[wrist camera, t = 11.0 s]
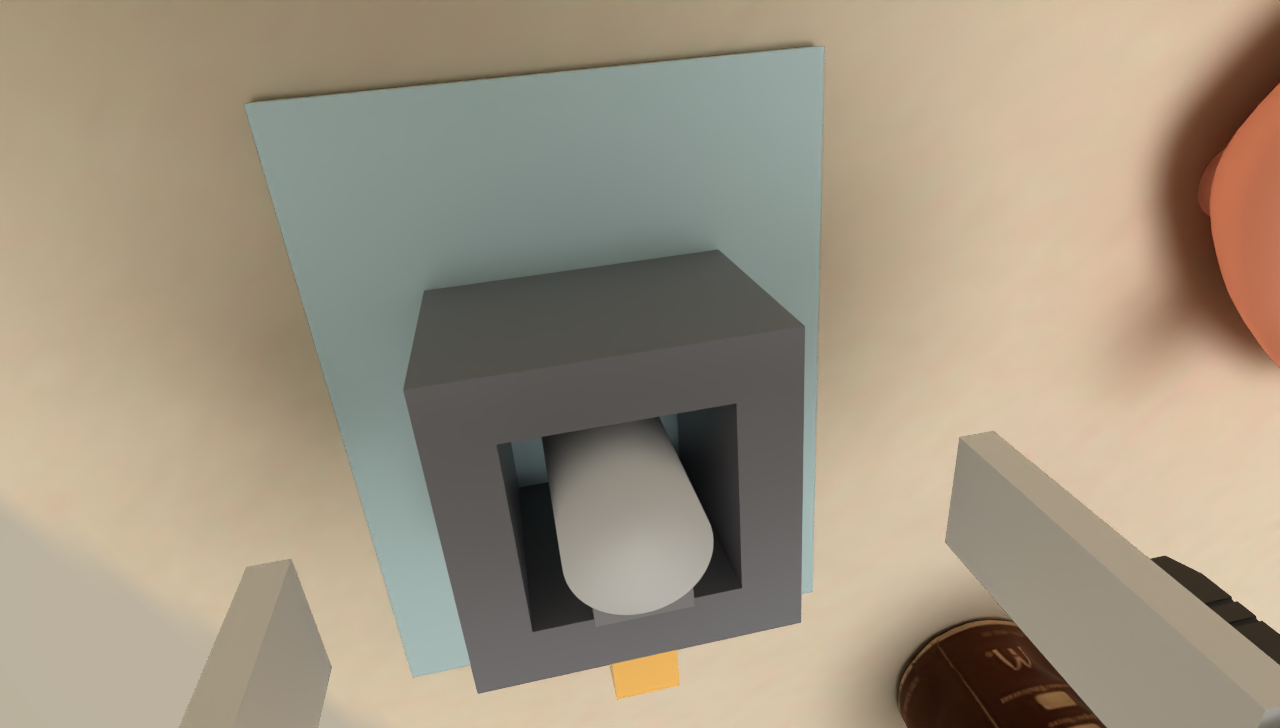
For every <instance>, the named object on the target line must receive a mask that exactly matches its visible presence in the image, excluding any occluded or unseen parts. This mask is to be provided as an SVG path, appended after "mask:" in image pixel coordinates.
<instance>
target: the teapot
mask: <svg viewBox="0 0 1280 728" xmlns="http://www.w3.org/2000/svg"><path fill="white" fill-rule="evenodd" d="M1198 203H1199V205H1200V208H1201V209H1202V210H1203V212H1204V213H1206V214H1207V215H1209V216H1210V218H1211V231H1212V236H1213V241H1214V246H1215V251H1216V255H1217V259H1218V263H1219V266H1220V270H1221V274H1222V277H1223V280H1224V282H1225V285H1226V288H1227V291H1228V293H1229V295H1230V297H1231V299H1232V301H1233V303H1234V305H1235V307H1236V308H1237V310H1238V312H1239V313H1240V315H1241V317H1242V319H1243V321H1244V322H1245V324H1246V325H1247V327H1248V328H1249V330H1250V331H1251V332H1252V334H1253V335H1254V337H1255V338H1256V340H1257V341H1258V342H1259V344H1260V345H1261V347H1262V348H1263V349H1264V351H1265V352H1266V353H1267V354H1268V356H1269V357H1270V358H1271V359H1272V360H1273V361H1274V362H1275V364H1276V365H1277V366H1278V367H1279V368H1280V83H1279V84H1278V85H1277V86H1276V87H1275V88H1274V89H1273V90H1272V91H1271V92H1270V93H1269V94H1268V95H1267V97H1266V98H1265V99H1264V100H1263V101H1262V102H1261V103H1260V104H1259V105H1258V106H1257V108H1256V109H1255V110H1254V111H1253V112H1252V114H1251V115H1250V116H1249V117H1248V118H1247V119H1246V121H1245V122H1244V123H1243V124H1242V125H1241V127H1240V128H1239V129H1238V130H1237V132H1236V133H1235V135H1234V136H1233V138H1232V139H1231V141H1230V142H1229V144H1228V146H1227V147H1226V148H1224V149H1223V150H1222V151H1220V152H1219V153H1218V154H1217V155H1216V156H1215V157H1214V158H1213V159H1212V160H1211V161H1210V163H1209V164H1208V166H1207V167H1206V169H1205V171H1204V172H1203V174H1202V177H1201V179H1200V182H1199V187H1198Z"/></svg>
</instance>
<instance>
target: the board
mask: <svg viewBox="0 0 1280 728" xmlns="http://www.w3.org/2000/svg"><path fill="white" fill-rule="evenodd" d="M823 90H824V46H808V47H798V48H788V49H778V50H768V51H758V52H748V53H738V54H728V55H718V56H708V57H698V58H688V59H678V60H668V61H658V62H648V63H638V64H628V65H618V66H608V67H598V68H588V69H578V70H568V71H558V72H548V73H537V74H527V75H517V76H507V77H497V78H487V79H477V80H467V81H457V82H447V83H437V84H427V85H417V86H407V87H397V88H387V89H377V90H367V91H357V92H347V93H337V94H327V95H317V96H307V97H297V98H287V99H277V100H267V101H257V102H250V103H246V104H244V107H245V110H246V114H247V117H248V120H249V124H250V127H251V131H252V134H253V137H254V141H255V144H256V148H257V151H258V154H259V158H260V161H261V165H262V168H263V171H264V175H265V178H266V182H267V185H268V188H269V192H270V195H271V198H272V202H273V205H274V209H275V212H276V215H277V219H278V222H279V226H280V229H281V232H282V236H283V239H284V243H285V246H286V249H287V253H288V256H289V259H290V263H291V266H292V270H293V273H294V276H295V280H296V283H297V287H298V290H299V293H300V297H301V300H302V304H303V307H304V310H305V314H306V317H307V321H308V324H309V327H310V331H311V334H312V337H313V341H314V344H315V348H316V351H317V354H318V358H319V361H320V365H321V368H322V371H323V375H324V378H325V382H326V385H327V388H328V392H329V395H330V398H331V402H332V405H333V409H334V412H335V415H336V419H337V422H338V426H339V429H340V432H341V436H342V439H343V443H344V446H345V449H346V453H347V456H348V459H349V463H350V466H351V470H352V473H353V476H354V480H355V483H356V487H357V490H358V493H359V497H360V500H361V504H362V507H363V510H364V514H365V517H366V521H367V524H368V527H369V531H370V534H371V537H372V541H373V544H374V548H375V551H376V554H377V558H378V561H379V565H380V568H381V571H382V575H383V578H384V582H385V585H386V588H387V592H388V595H389V598H390V602H391V605H392V609H393V612H394V615H395V619H396V622H397V626H398V629H399V632H400V636H401V639H402V643H403V646H404V649H405V653H406V656H407V660H408V663H409V666H410V670H411V673H412V676H413V678H414V677H419V676H423V675H428V674H433V673H437V672H442V671H447V670H451V669H456V668H461V667H465V666H470V665H471V664H470V660H469V656H468V652H467V648H466V644H465V640H464V636H463V632H462V628H461V624H460V620H459V616H458V611H457V607H456V603H455V599H454V595H453V591H452V587H451V583H450V579H449V575H448V571H447V567H446V563H445V559H444V555H443V551H442V546H441V542H440V538H439V534H438V530H437V526H436V522H435V518H434V514H433V510H432V506H431V502H430V498H429V494H428V490H427V486H426V481H425V477H424V473H423V469H422V465H421V461H420V457H419V453H418V449H417V445H416V441H415V437H414V433H413V429H412V425H411V421H410V416H409V412H408V408H407V404H406V400H405V396H404V392H403V388H404V383H405V378H406V373H407V369H408V364H409V359H410V354H411V350H412V345H413V340H414V335H415V331H416V326H417V321H418V316H419V312H420V307H421V302H422V297H423V293H424V291H425V290H432V289H440V288H447V287H454V286H461V285H468V284H475V283H482V282H490V281H497V280H504V279H511V278H518V277H525V276H533V275H540V274H547V273H554V272H561V271H568V270H575V269H583V268H590V267H597V266H604V265H611V264H618V263H626V262H633V261H640V260H647V259H654V258H661V257H669V256H676V255H683V254H690V253H697V252H704V251H711V250H720V251H721V252H722V253H723V254H724V255H725V256H726V257H728V258H729V259H730V260H731V261H732V262H733V263H734V264H735V265H737V266H738V267H739V268H740V269H741V270H742V271H743V272H744V273H746V274H747V275H748V276H749V277H750V278H751V279H752V280H753V281H755V282H756V283H757V284H758V285H759V286H760V287H761V288H762V289H764V290H765V291H766V292H767V293H768V294H769V295H770V296H771V297H773V298H774V299H775V300H776V301H777V302H778V303H779V304H780V305H782V306H783V307H784V308H785V309H786V310H787V311H788V312H790V313H791V314H792V315H793V316H794V317H795V318H796V319H797V320H799V321H800V322H801V323H802V324H803V325H804V326H805V371H804V442H803V513H802V584H801V594H805V593H810V592H812V588H813V543H814V497H815V452H816V407H817V362H818V316H819V271H820V226H821V180H822V135H823ZM511 445H512V451H513V456H514V462H515V467H516V473H517V478H518V483H519V487H524V486H530V485H535V484H541V483H546V482H549V488H550V494H551V501H552V507H553V513H554V520H555V526H556V532H557V538H558V545H559V551H560V557H561V564H562V570H563V574H564V578H565V580H566V582H567V585H568V586H569V588H570V589H571V591H572V592H573V593H574V594H575V595H576V597H577V598H578V599H580V600H581V601H582V602H583V603H585V604H587V605H588V606H590V607H592V612H593V617H594V622H595V627H599V626H604V625H608V624H613V623H618V622H622V621H627V620H632V619H637V618H641V617H646V616H651V615H655V614H660V613H665V612H670V611H674V610H679V609H684V608H688V607H693V606H695V604H694V589H693V587H694V586H695V585H696V584H697V582H698V581H699V580H700V579H701V577H702V576H703V574H704V573H705V571H706V569H707V567H708V565H709V563H710V560H711V557H712V552H713V540H714V539H713V532H712V528H711V525H710V523H709V520H708V518H707V516H706V514H705V512H704V510H703V508H702V506H701V504H700V502H699V499H698V497H697V495H696V493H695V491H694V489H693V487H692V485H691V483H690V481H689V478H688V476H687V474H686V472H685V470H684V468H683V466H682V464H681V462H680V460H679V458H680V452H679V437H678V423H677V414H672V415H666V416H660V417H654V418H648V419H643V420H637V421H631V422H625V423H619V424H614V425H608V426H602V427H596V428H590V429H585V430H579V431H573V432H567V433H561V434H555V435H550V436H544V437H538V438H532V439H526V440H521V441H515V442H511Z"/></svg>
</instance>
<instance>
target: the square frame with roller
mask: <svg viewBox="0 0 1280 728" xmlns="http://www.w3.org/2000/svg"><path fill="white" fill-rule="evenodd" d="M804 371H805V326H804V325H803V324H802V323H801V322H800V321H799V320H797V319H796V318H795V317H794V316H793V315H792V314H791V313H790V312H788V311H787V310H786V309H785V308H784V307H783V306H782V305H780V304H779V303H778V302H777V301H776V300H775V299H774V298H773V297H771V296H770V295H769V294H768V293H767V292H766V291H765V290H764V289H762V288H761V287H760V286H759V285H758V284H757V283H756V282H755V281H753V280H752V279H751V278H750V277H749V276H748V275H747V274H746V273H744V272H743V271H742V270H741V269H740V268H739V267H738V266H737V265H735V264H734V263H733V262H732V261H731V260H730V259H729V258H728V257H726V256H725V255H724V254H723V253H722V252H721V251H720V250H711V251H704V252H697V253H690V254H683V255H676V256H669V257H661V258H654V259H647V260H640V261H633V262H626V263H618V264H611V265H604V266H597V267H590V268H583V269H575V270H568V271H561V272H554V273H547V274H540V275H533V276H525V277H518V278H511V279H504V280H497V281H490V282H482V283H475V284H468V285H461V286H454V287H447V288H440V289H432V290H425V291H424V293H423V297H422V302H421V307H420V312H419V316H418V321H417V326H416V331H415V335H414V340H413V345H412V350H411V354H410V359H409V364H408V369H407V373H406V378H405V383H404V388H403V392H404V396H405V400H406V404H407V408H408V412H409V416H410V421H411V425H412V429H413V433H414V437H415V441H416V445H417V449H418V453H419V457H420V461H421V465H422V469H423V473H424V477H425V481H426V486H427V490H428V494H429V498H430V502H431V506H432V510H433V514H434V518H435V522H436V526H437V530H438V534H439V538H440V542H441V546H442V551H443V555H444V559H445V563H446V567H447V571H448V575H449V579H450V583H451V587H452V591H453V595H454V599H455V603H456V607H457V611H458V616H459V620H460V624H461V628H462V632H463V636H464V640H465V644H466V648H467V652H468V656H469V660H470V664H471V668H472V672H473V676H474V681H475V685H476V689H477V693H478V694H479V693H484V692H488V691H493V690H497V689H502V688H506V687H511V686H515V685H520V684H524V683H529V682H533V681H538V680H542V679H547V678H552V677H556V676H561V675H565V674H570V673H574V672H579V671H583V670H588V669H592V668H597V667H601V666H606V665H610V669H611V674H612V678H613V683H614V688H615V693H616V697H617V699H622V698H626V697H630V696H635V695H639V694H644V693H648V692H652V691H657V690H661V689H665V688H670V687H674V686H679V685H680V683H679V671H678V659H677V650H678V649H683V648H688V647H692V646H697V645H701V644H706V643H710V642H715V641H719V640H724V639H728V638H733V637H737V636H742V635H746V634H751V633H755V632H760V631H765V630H769V629H774V628H778V627H783V626H787V625H792V624H796V623H801V584H802V513H803V442H804ZM672 414H677V423H678V437H679V452H680V458H679V460H680V462H681V464H682V466H683V468H684V470H685V472H686V474H687V476H688V478H689V481H690V483H691V485H692V487H693V489H694V491H695V493H696V495H697V497H698V499H699V502H700V504H701V506H702V508H703V510H704V512H705V514H706V516H707V518H708V520H709V523H710V525H711V528H712V532H713V539H714V540H713V552H712V557H711V560H710V563H709V565H708V567H707V569H706V571H705V573H704V574H703V576H702V577H701V579H700V580H699V581H698V582H697V584H696V585H695V586H694V587H693V589H694V604H695V606H693V607H688V608H684V609H679V610H674V611H670V612H665V613H660V614H655V615H651V616H646V617H641V618H637V619H632V620H627V621H622V622H618V623H613V624H608V625H604V626H599V627H595V622H594V617H593V612H592V607H590V606H588V605H587V604H585V603H583V602H582V601H581V600H580V599H578V598H577V597H576V595H575V594H574V593H573V592H572V591H571V589H570V588H569V586H568V585H567V582H566V580H565V578H564V574H563V570H562V564H561V557H560V551H559V545H558V538H557V532H556V526H555V520H554V513H553V507H552V501H551V494H550V488H549V482H546V483H541V484H535V485H530V486H524V487H519V483H518V478H517V473H516V467H515V462H514V456H513V451H512V445H511V442H515V441H521V440H526V439H532V438H538V437H544V436H550V435H555V434H561V433H567V432H573V431H579V430H585V429H590V428H596V427H602V426H608V425H614V424H619V423H625V422H631V421H637V420H643V419H648V418H654V417H660V416H666V415H672Z"/></svg>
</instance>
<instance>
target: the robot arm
mask: <svg viewBox="0 0 1280 728" xmlns="http://www.w3.org/2000/svg"><path fill="white" fill-rule="evenodd" d="M945 543H946V544H947V545H948V546H949V548H950V549H951V550H952V551H953V552H954V553H955V554H956V556H957V557H958V558H959V559H960V560H961V561H962V563H963V564H964V565H965V566H966V567H967V568H968V569H969V571H970V572H971V573H972V574H973V575H974V576H975V577H976V579H977V580H978V581H979V582H980V583H981V584H982V585H983V587H984V588H985V589H986V590H987V591H988V592H989V593H990V595H991V596H992V597H993V598H994V599H995V600H996V601H997V603H998V604H999V605H1000V606H1001V607H1002V608H1003V609H1004V611H1005V612H1006V613H1007V614H1008V615H1009V616H1010V617H1011V619H1012V620H1013V621H1014V622H1015V623H1016V624H1017V626H1018V627H1019V628H1020V629H1021V630H1022V631H1023V632H1024V634H1025V635H1026V636H1027V637H1028V638H1029V639H1030V640H1031V642H1032V643H1033V644H1034V645H1035V646H1036V647H1037V648H1038V650H1039V651H1040V652H1041V653H1042V654H1043V655H1044V656H1045V658H1046V659H1047V660H1048V661H1049V662H1050V663H1051V664H1052V666H1053V667H1054V668H1055V669H1056V670H1057V671H1058V672H1059V674H1060V675H1061V676H1062V677H1063V678H1064V679H1065V680H1066V682H1067V683H1068V684H1069V685H1070V686H1071V687H1072V689H1073V690H1074V691H1075V692H1076V693H1077V694H1078V695H1079V697H1080V698H1081V699H1082V700H1083V701H1084V702H1085V703H1086V705H1087V706H1088V707H1089V708H1090V709H1091V710H1092V711H1093V713H1094V714H1095V715H1096V716H1097V717H1098V718H1099V719H1100V721H1101V722H1102V723H1103V724H1104V725H1105V726H1106V727H1107V728H1280V634H1278V633H1277V632H1276V631H1275V630H1273V629H1272V628H1271V627H1269V626H1268V625H1267V624H1266V623H1264V622H1263V621H1260V622H1259V621H1258V620H1257V619H1256V616H1255V615H1254V614H1253V613H1252V612H1250V611H1249V610H1248V609H1246V608H1245V607H1244V606H1243V605H1241V604H1240V603H1239V602H1233V600H1232V597H1231V596H1230V595H1229V594H1227V593H1226V592H1225V591H1223V590H1222V589H1221V588H1220V587H1218V586H1217V585H1216V584H1214V583H1213V582H1212V581H1211V580H1209V579H1208V578H1207V577H1205V576H1204V575H1203V574H1202V573H1199V572H1197V571H1195V570H1193V569H1191V568H1189V567H1187V566H1185V565H1183V564H1181V563H1179V562H1177V561H1175V560H1173V559H1171V558H1169V557H1167V556H1161V557H1157V558H1152V559H1149V558H1148V557H1147V556H1146V555H1144V554H1143V553H1142V552H1141V551H1140V550H1138V549H1137V548H1136V547H1135V546H1133V545H1132V544H1131V543H1130V542H1129V541H1127V540H1126V539H1125V538H1124V537H1122V536H1121V535H1120V534H1119V533H1118V532H1116V531H1115V530H1114V529H1113V528H1112V527H1110V526H1109V525H1108V524H1107V523H1105V522H1104V521H1103V520H1102V519H1101V518H1099V517H1098V516H1097V515H1096V514H1094V513H1093V512H1092V511H1091V510H1090V509H1088V508H1087V507H1086V506H1085V505H1083V504H1082V503H1081V502H1080V501H1079V500H1077V499H1076V498H1075V497H1074V496H1072V495H1071V494H1070V493H1069V492H1068V491H1066V490H1065V489H1064V488H1063V487H1061V486H1060V485H1059V484H1058V483H1057V482H1055V481H1054V480H1053V479H1052V478H1050V477H1049V476H1048V475H1047V474H1046V473H1044V472H1043V471H1042V470H1041V469H1039V468H1038V467H1037V466H1036V465H1035V464H1033V463H1032V462H1031V461H1030V460H1028V459H1027V458H1026V457H1025V456H1024V455H1022V454H1021V453H1020V452H1019V451H1018V450H1016V449H1015V448H1014V447H1013V446H1011V445H1010V444H1009V443H1008V442H1007V441H1005V440H1004V439H1003V438H1002V437H1000V436H999V435H998V434H997V433H996V432H994V431H990V432H985V433H979V434H974V435H968V436H963V437H959V445H958V452H957V459H956V466H955V474H954V481H953V488H952V495H951V503H950V510H949V517H948V524H947V532H946V539H945ZM331 668H332V666H331V664H330V661H329V658H328V656H327V653H326V650H325V648H324V645H323V642H322V640H321V637H320V634H319V632H318V629H317V626H316V624H315V621H314V618H313V616H312V613H311V610H310V608H309V605H308V602H307V600H306V597H305V594H304V592H303V589H302V586H301V583H300V581H299V578H298V575H297V573H296V570H295V567H294V565H293V562H292V559H288V560H282V561H277V562H271V563H266V564H260V565H255V566H249V567H246V570H245V572H244V574H243V577H242V579H241V581H240V584H239V586H238V589H237V591H236V593H235V596H234V598H233V600H232V603H231V605H230V608H229V610H228V612H227V615H226V617H225V619H224V622H223V624H222V627H221V629H220V631H219V634H218V636H217V638H216V641H215V643H214V645H213V648H212V650H211V653H210V655H209V657H208V660H207V662H206V664H205V667H204V669H203V672H202V674H201V676H200V679H199V681H198V683H197V686H196V688H195V691H194V693H193V695H192V698H191V700H190V702H189V705H188V707H187V710H186V712H185V714H184V717H183V719H182V721H181V724H180V726H179V728H318V725H319V720H320V716H321V712H322V708H323V703H324V699H325V694H326V690H327V686H328V681H329V677H330V672H331Z"/></svg>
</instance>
